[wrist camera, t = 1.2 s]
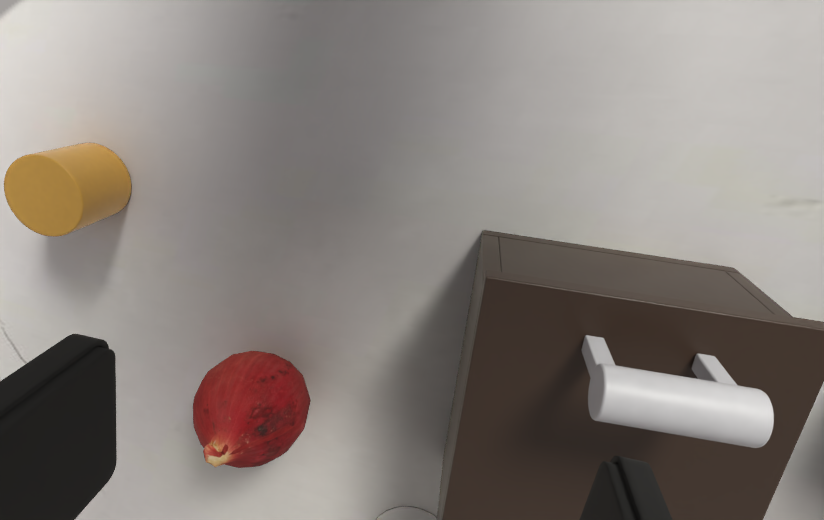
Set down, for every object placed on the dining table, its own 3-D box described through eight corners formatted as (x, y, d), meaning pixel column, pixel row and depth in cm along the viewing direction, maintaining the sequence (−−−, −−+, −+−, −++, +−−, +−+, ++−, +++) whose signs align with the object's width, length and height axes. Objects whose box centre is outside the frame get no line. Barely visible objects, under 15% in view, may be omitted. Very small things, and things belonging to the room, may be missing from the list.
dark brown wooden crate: (482, 229, 29) (482, 287, 21) (734, 267, 28) (823, 341, 21) (442, 459, 34) (431, 568, 27) (654, 497, 33) (703, 621, 26)
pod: (64, 132, 30) (4, 143, 26) (135, 156, 30) (86, 170, 26) (59, 202, 31) (1, 222, 27) (127, 224, 31) (79, 247, 27)
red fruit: (308, 318, 32) (254, 399, 24) (336, 405, 33) (294, 504, 26) (215, 335, 33) (137, 416, 25) (247, 417, 35) (182, 517, 27)
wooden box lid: (486, 268, 21) (486, 328, 16) (832, 322, 20) (937, 401, 16) (431, 569, 27) (420, 679, 22) (704, 622, 26) (753, 748, 21)
